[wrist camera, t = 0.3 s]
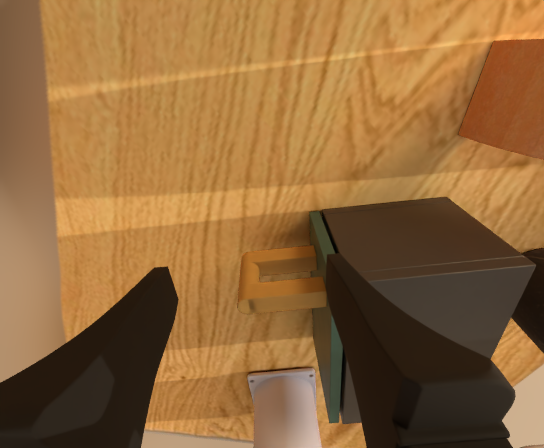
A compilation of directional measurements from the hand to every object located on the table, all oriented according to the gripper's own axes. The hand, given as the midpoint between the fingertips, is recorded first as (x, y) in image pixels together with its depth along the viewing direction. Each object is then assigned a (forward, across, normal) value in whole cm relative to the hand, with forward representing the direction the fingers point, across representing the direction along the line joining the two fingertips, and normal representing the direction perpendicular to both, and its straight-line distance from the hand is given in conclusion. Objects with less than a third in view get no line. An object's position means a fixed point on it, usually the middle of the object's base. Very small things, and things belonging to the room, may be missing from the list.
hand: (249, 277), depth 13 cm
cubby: (+10, -10, +10) cm, 18 cm away
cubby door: (+10, -2, +10) cm, 14 cm away
